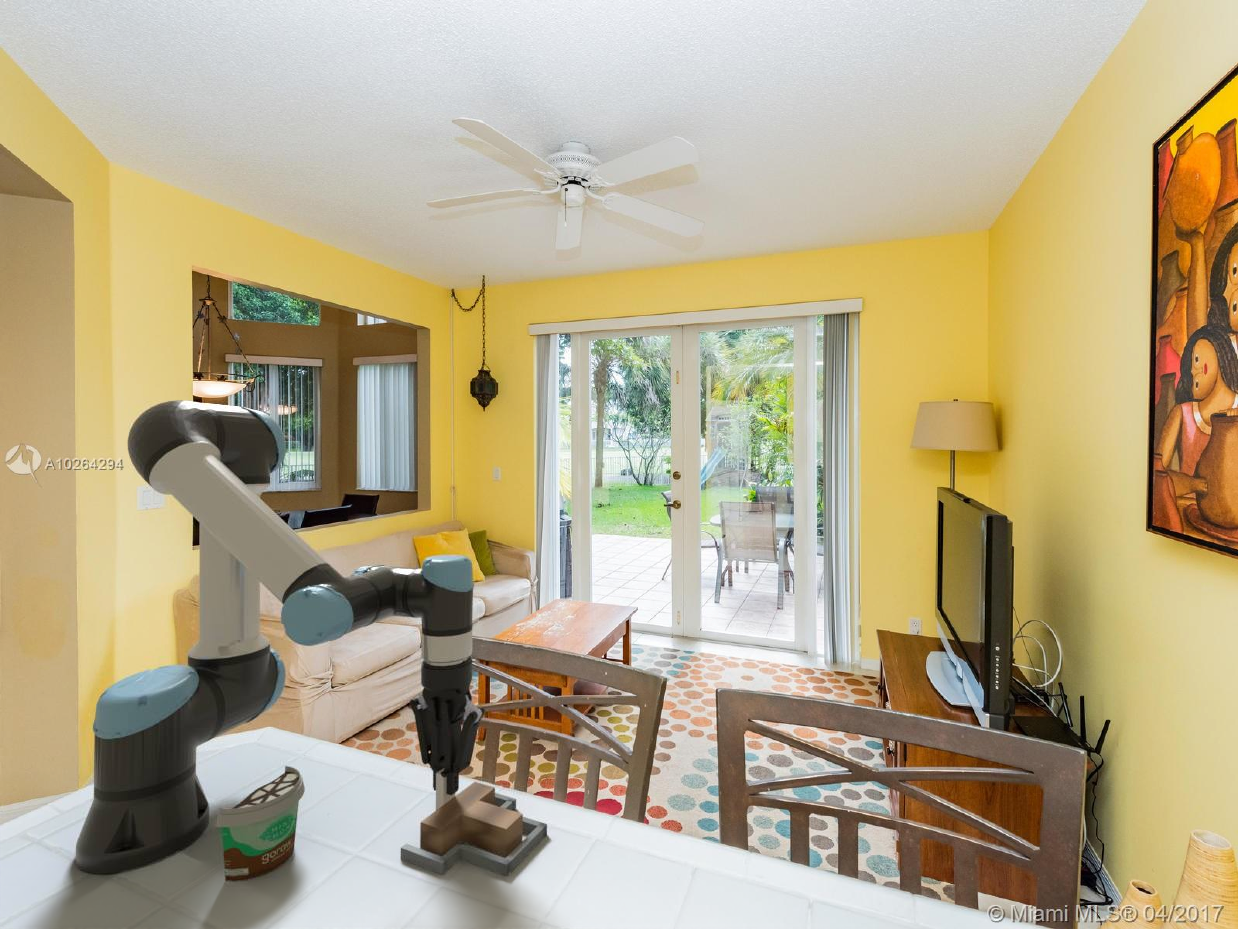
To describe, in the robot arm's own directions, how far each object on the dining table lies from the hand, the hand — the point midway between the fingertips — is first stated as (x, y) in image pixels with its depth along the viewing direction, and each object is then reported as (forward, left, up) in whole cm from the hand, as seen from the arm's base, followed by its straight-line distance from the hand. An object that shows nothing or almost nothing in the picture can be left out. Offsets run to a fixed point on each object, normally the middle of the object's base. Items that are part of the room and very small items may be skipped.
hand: (445, 812), depth 89 cm
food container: (-16, -17, -2) cm, 23 cm away
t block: (+7, 0, -2) cm, 7 cm away
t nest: (+7, 0, -2) cm, 8 cm away
